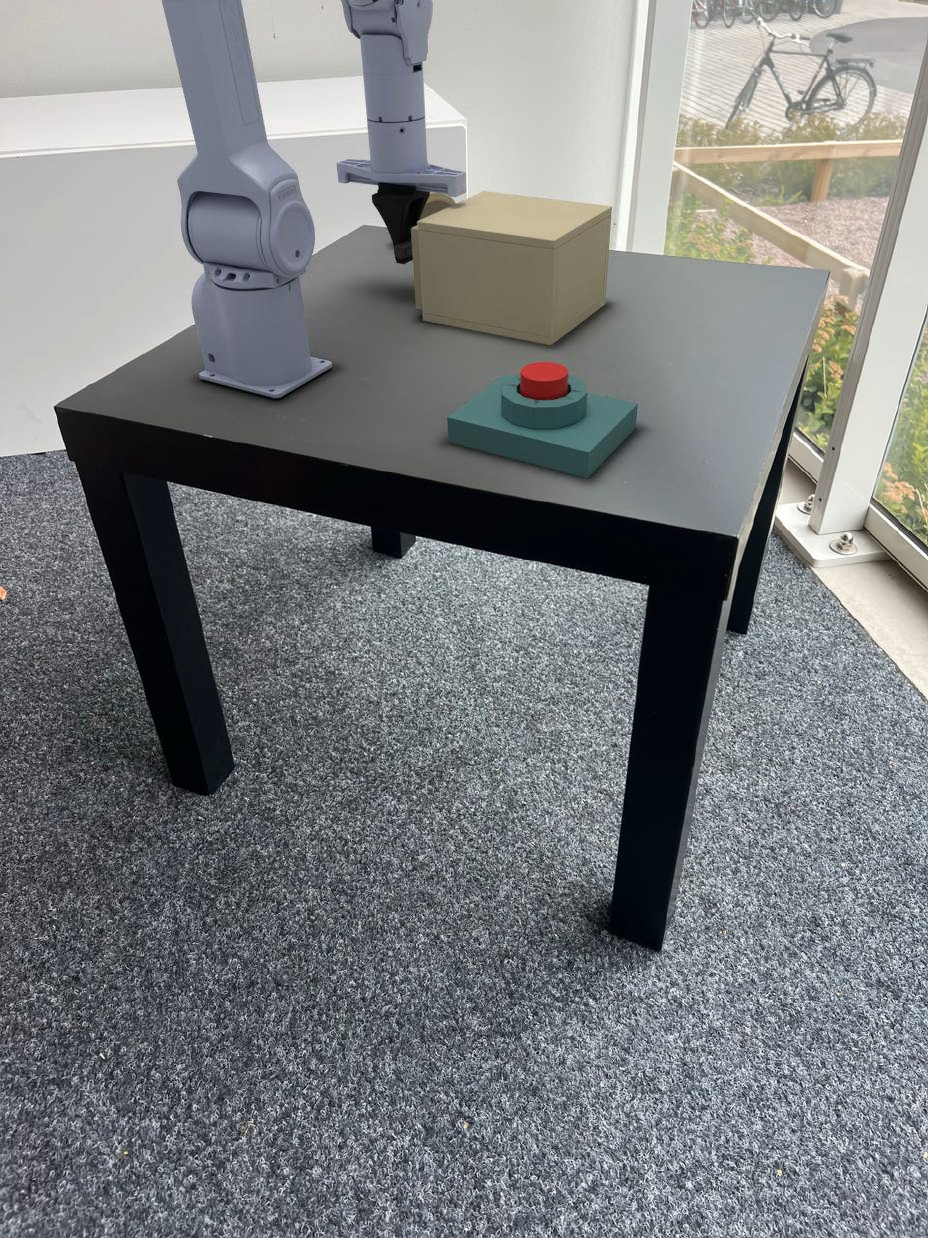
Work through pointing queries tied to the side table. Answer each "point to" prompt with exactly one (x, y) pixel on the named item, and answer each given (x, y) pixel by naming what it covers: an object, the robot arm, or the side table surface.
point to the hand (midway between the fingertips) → (405, 261)
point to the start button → (544, 381)
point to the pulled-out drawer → (412, 249)
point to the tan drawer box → (514, 265)
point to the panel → (544, 426)
